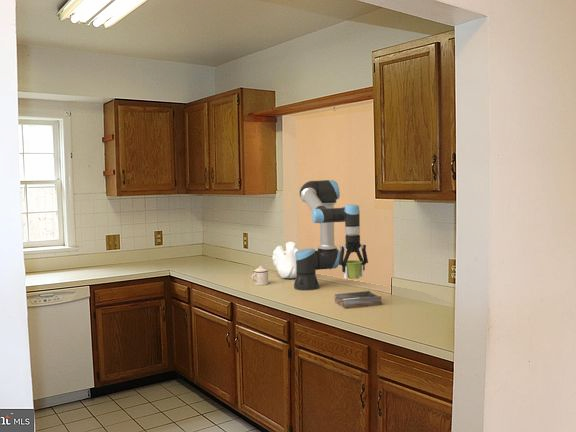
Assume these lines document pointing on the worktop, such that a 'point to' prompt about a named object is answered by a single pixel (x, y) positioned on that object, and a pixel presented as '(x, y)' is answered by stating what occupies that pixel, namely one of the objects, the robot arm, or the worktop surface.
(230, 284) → the worktop surface
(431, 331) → the worktop surface
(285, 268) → the decorative rooster
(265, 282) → the teacup with lid
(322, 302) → the worktop surface
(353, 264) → the plant pot
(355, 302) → the dock
